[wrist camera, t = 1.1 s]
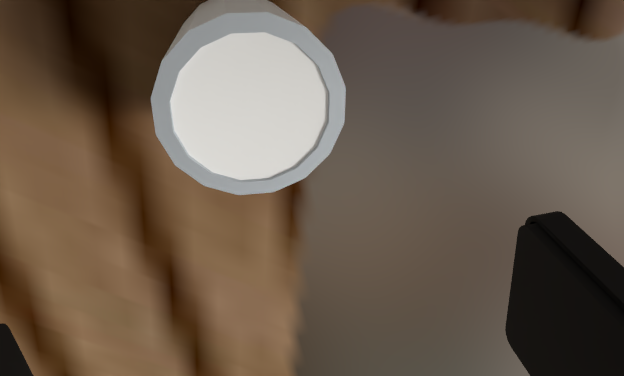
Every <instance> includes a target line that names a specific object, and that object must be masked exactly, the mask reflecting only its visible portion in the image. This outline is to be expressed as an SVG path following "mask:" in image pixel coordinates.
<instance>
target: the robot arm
mask: <svg viewBox="0 0 624 376" xmlns="http://www.w3.org/2000/svg"><path fill="white" fill-rule="evenodd" d="M507 313H508V314H507V321H506V335H507V339H508V342H509V344H510V346H511V347H512V349H513V351H514V352H515V354H516V355H517V356H518V358H519V359H520V361H521V362H522V364H523V365H524V367H525V368H526V370H527V371H528V373H529V374H530V376H624V267H623V266H622V265H620V264H619V263H618V262H617V261H616V260H615V259H614V258H613V257H612V256H611V255H609V254H608V253H607V252H606V251H605V250H604V249H603V248H602V247H601V246H600V245H598V244H597V243H596V242H595V241H594V240H593V239H592V238H591V237H590V236H588V235H587V234H586V233H585V232H584V231H583V230H582V229H581V228H580V227H579V226H577V225H576V224H575V223H574V222H573V221H572V220H571V219H570V218H569V217H568V216H566V215H565V214H564V213H562V212H558V211H557V212H552V213H546V214H541V215H536V216H531V217H529V218H528V219H527V220H526V223H525V225H523V226H521V227H520V228H519V230H518V236H517V244H516V251H515V259H514V266H513V274H512V282H511V290H510V297H509V305H508V312H507ZM0 376H33V374H32V372H31V370H30V368H29V366H28V364H27V362H26V360H25V358H24V356H23V354H22V352H21V350H20V348H19V346H18V344H17V343H16V341H15V339H14V337H13V335H12V333H11V331H10V329H9V327H8V326H7V325H6V324H0Z"/></svg>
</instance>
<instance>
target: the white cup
mask: <svg viewBox="0 0 624 376" xmlns="http://www.w3.org/2000/svg"><path fill="white" fill-rule="evenodd" d="M345 94H346V87H345V84H344V82H343V80H342V77H341V74H340V72H339V69H338V66H337V64H336V61H335V59H334V56H333V54H332V53H331V52H330V51H329V50H328V49H327V48H326V47H325V46H324V45H323V44H322V43H321V42H320V41H319V40H318V39H317V38H316V37H315V36H314V35H313V34H312V33H311V32H310V31H309V30H308V29H307V28H306V27H305V26H304V25H302V24H301V23H300V22H298V21H297V20H295V19H294V18H293V17H291V16H290V15H289V14H287V13H286V12H285V11H283V10H282V9H281V8H279V7H278V6H276V5H275V4H274V3H272V2H270V1H268V0H208V1H206V2H204V3H201V4H200V5H199V6H198V7H197V8H196V9H195V11H194V12H193V13H192V14H191V15H190V16H189V18H188V19H187V20H186V21H185V22H184V23H183V25H182V27H181V29H180V30H179V32H178V34H177V35H176V37H175V39H174V41H173V42H172V44H171V46H170V48H169V49H168V51H167V53H166V54H165V56H164V58H163V60H162V61H161V65H160V68H159V71H158V75H157V78H156V82H155V85H154V88H153V92H152V95H151V105H152V111H153V118H154V125H155V132H156V136H157V137H158V139H159V140H160V142H161V144H162V145H163V147H164V148H165V150H166V152H167V153H168V155H169V156H170V158H171V159H172V161H173V163H174V164H175V166H177V167H178V168H180V169H181V170H182V171H184V172H185V173H187V174H188V175H189V176H191V177H192V178H194V179H195V180H196V181H198V182H199V183H201V184H202V185H203V186H206V187H210V188H214V189H217V190H221V191H225V192H229V193H232V194H236V195H245V194H257V193H269V192H275V191H277V190H279V189H282V188H284V187H286V186H288V185H291V184H293V183H295V182H297V181H299V180H302V179H304V178H306V177H307V176H308V175H309V174H310V173H311V172H312V171H313V170H314V169H315V168H316V167H317V166H318V165H319V164H320V163H321V162H322V161H323V160H324V159H325V158H326V157H327V156H328V155H329V154H330V153H331V151H332V148H333V146H334V144H335V142H336V140H337V137H338V135H339V133H340V131H341V129H342V127H343V124H344V119H345Z"/></svg>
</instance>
